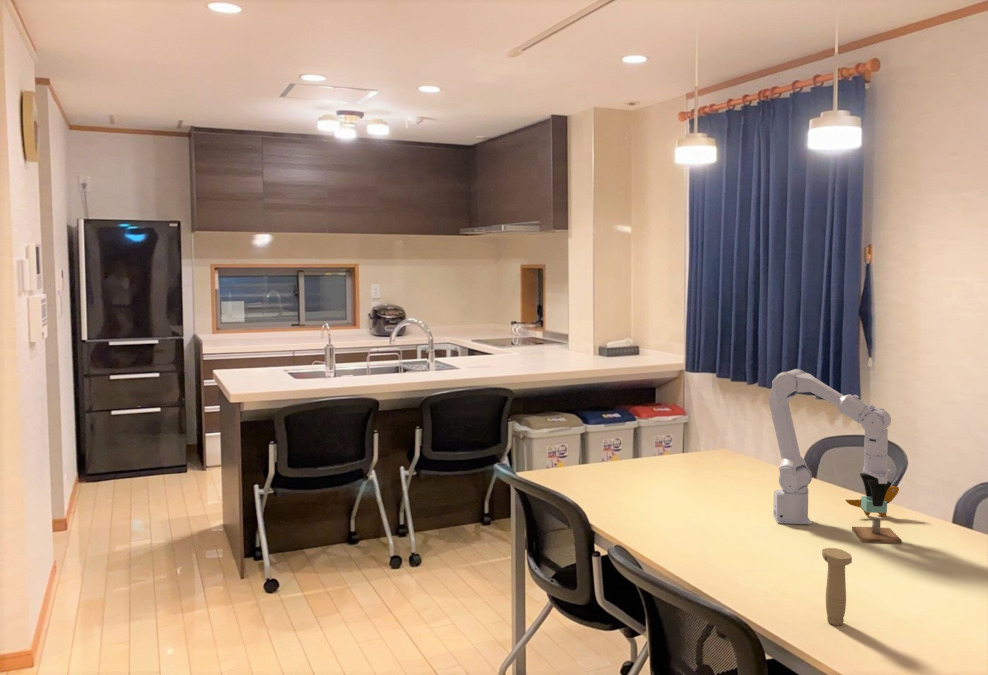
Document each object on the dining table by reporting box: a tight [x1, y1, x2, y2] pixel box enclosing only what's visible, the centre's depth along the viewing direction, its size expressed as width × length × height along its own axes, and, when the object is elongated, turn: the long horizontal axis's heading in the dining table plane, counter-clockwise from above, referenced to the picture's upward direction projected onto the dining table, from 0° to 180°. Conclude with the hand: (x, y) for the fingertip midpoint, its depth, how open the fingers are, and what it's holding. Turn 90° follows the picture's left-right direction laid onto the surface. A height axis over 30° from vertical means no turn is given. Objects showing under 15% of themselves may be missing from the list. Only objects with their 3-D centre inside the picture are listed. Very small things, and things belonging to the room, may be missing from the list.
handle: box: [821, 547, 853, 626], centre depth 167 cm, size 5×6×15 cm
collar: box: [860, 495, 888, 514], centre depth 219 cm, size 5×5×3 cm
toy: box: [844, 485, 900, 518], centre depth 238 cm, size 3×16×10 cm, turn 89°
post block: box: [851, 517, 903, 544], centre depth 220 cm, size 10×10×5 cm
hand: (874, 502), depth 219 cm, fingers closed on collar, 5 cm apart
